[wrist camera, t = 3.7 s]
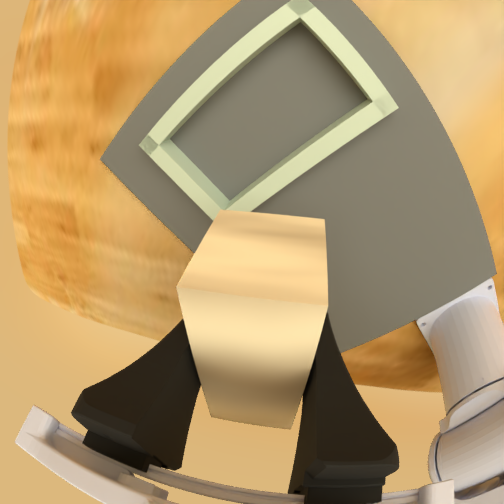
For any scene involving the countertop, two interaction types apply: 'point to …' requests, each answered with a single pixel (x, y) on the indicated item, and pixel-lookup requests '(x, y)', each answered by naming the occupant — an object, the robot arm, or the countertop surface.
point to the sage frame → (301, 158)
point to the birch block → (256, 313)
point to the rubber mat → (322, 167)
